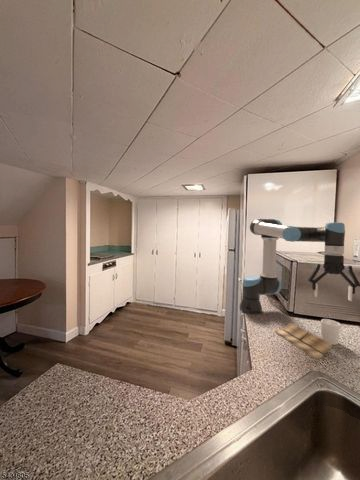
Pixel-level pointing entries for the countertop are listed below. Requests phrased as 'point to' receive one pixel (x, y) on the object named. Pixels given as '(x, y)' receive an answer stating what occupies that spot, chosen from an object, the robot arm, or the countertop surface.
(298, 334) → the plank
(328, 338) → the white cup
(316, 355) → the laid board
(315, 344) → the plank
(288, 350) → the countertop surface
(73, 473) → the countertop surface
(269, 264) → the robot arm
